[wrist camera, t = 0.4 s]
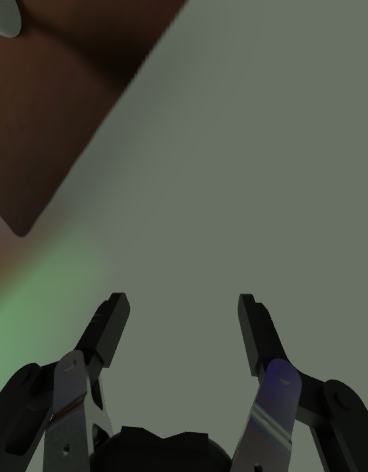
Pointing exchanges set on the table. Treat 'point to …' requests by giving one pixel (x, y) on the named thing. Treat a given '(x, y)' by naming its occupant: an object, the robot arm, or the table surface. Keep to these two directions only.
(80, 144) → the table surface
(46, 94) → the table surface
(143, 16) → the table surface
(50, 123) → the table surface
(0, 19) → the chalice
